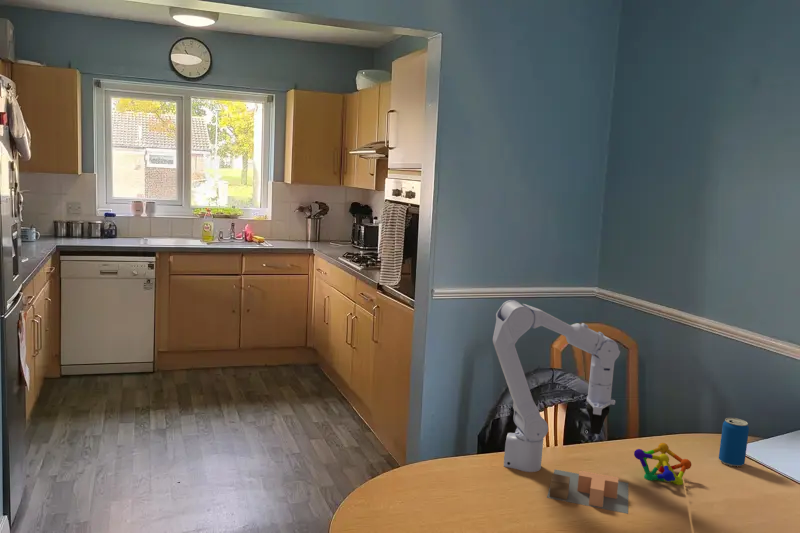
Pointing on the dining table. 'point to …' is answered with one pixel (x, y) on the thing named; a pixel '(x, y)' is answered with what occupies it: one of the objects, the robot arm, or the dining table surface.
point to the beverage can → (733, 442)
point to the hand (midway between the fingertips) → (595, 433)
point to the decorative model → (663, 460)
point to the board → (583, 498)
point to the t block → (597, 487)
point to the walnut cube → (559, 486)
